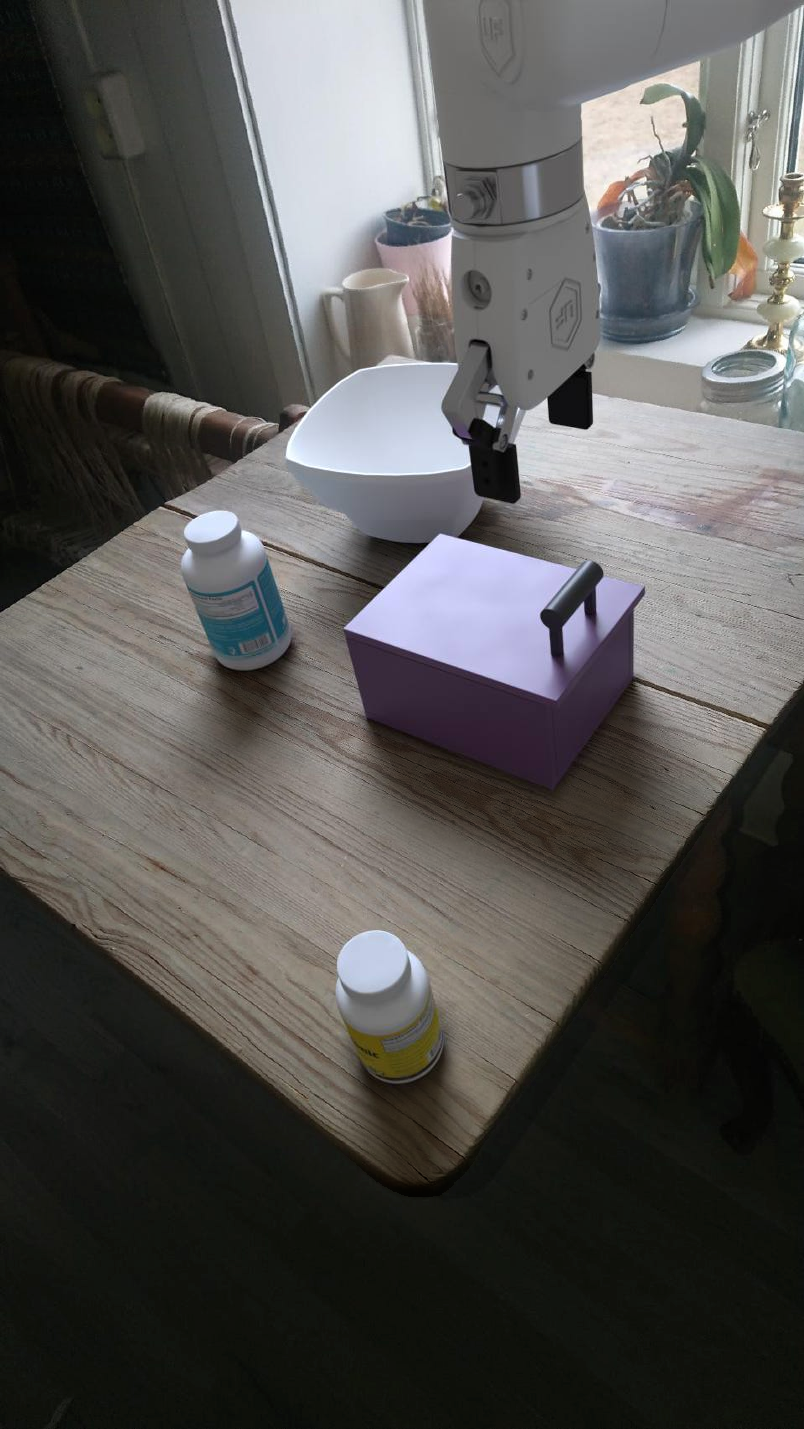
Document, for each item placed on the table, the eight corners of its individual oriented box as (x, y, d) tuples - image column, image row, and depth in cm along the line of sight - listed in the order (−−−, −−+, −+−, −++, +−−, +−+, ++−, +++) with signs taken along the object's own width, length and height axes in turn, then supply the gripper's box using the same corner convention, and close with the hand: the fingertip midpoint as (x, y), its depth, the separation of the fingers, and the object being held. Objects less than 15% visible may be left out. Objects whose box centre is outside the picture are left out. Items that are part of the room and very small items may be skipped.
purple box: (633, 677, 80) (634, 592, 74) (552, 790, 72) (545, 706, 66) (453, 621, 88) (441, 541, 82) (365, 717, 81) (344, 637, 75)
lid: (645, 594, 73) (646, 538, 70) (557, 709, 66) (553, 653, 62) (440, 540, 82) (432, 488, 79) (344, 636, 75) (330, 583, 72)
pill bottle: (252, 613, 94) (210, 493, 85) (309, 634, 90) (272, 510, 81) (199, 660, 90) (149, 539, 81) (256, 684, 87) (212, 560, 77)
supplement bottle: (345, 1027, 61) (310, 943, 55) (423, 990, 62) (398, 902, 56) (377, 1103, 58) (344, 1021, 51) (459, 1062, 59) (437, 977, 52)
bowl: (368, 455, 112) (348, 359, 104) (556, 466, 104) (550, 362, 96) (285, 570, 99) (254, 469, 91) (494, 592, 90) (481, 483, 82)
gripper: (489, 248, 47) (518, 542, 59) (646, 133, 56) (644, 407, 68) (368, 239, 51) (417, 517, 63) (533, 132, 60) (549, 392, 72)
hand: (535, 459), depth 65 cm, fingers open, 9 cm apart
